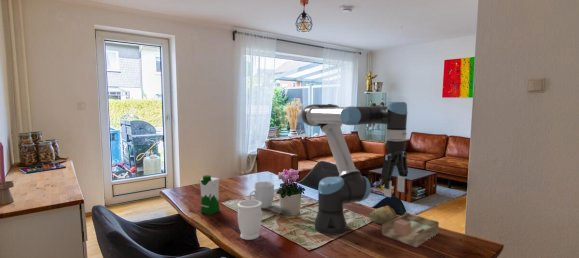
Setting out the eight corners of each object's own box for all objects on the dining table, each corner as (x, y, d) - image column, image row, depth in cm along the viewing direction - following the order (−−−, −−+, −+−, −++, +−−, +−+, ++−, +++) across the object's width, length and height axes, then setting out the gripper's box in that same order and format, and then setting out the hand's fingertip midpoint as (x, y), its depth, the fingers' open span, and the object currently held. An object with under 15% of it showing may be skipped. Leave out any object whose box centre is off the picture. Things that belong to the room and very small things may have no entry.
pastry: (404, 224, 149) (404, 208, 148) (386, 229, 143) (386, 212, 142) (382, 214, 161) (382, 199, 161) (364, 219, 155) (365, 203, 154)
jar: (239, 242, 129) (238, 208, 128) (236, 232, 139) (236, 200, 138) (264, 239, 132) (263, 205, 131) (259, 229, 142) (259, 198, 141)
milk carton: (198, 213, 163) (197, 176, 161) (209, 207, 171) (208, 172, 169) (211, 215, 159) (210, 178, 157) (222, 210, 167) (221, 174, 166)
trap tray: (381, 234, 137) (382, 222, 137) (405, 222, 150) (405, 212, 150) (416, 247, 125) (416, 234, 125) (438, 233, 138) (438, 221, 137)
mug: (253, 212, 164) (253, 188, 163) (245, 206, 173) (244, 183, 172) (277, 207, 172) (277, 184, 170) (268, 202, 181) (268, 180, 180)
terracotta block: (393, 232, 133) (394, 221, 133) (399, 229, 136) (400, 218, 136) (404, 236, 129) (404, 225, 129) (410, 233, 133) (410, 222, 132)
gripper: (389, 143, 114) (387, 201, 116) (418, 138, 128) (416, 190, 131) (372, 141, 120) (370, 197, 122) (401, 136, 134) (399, 186, 136)
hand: (394, 193), depth 126 cm, fingers open, 9 cm apart
